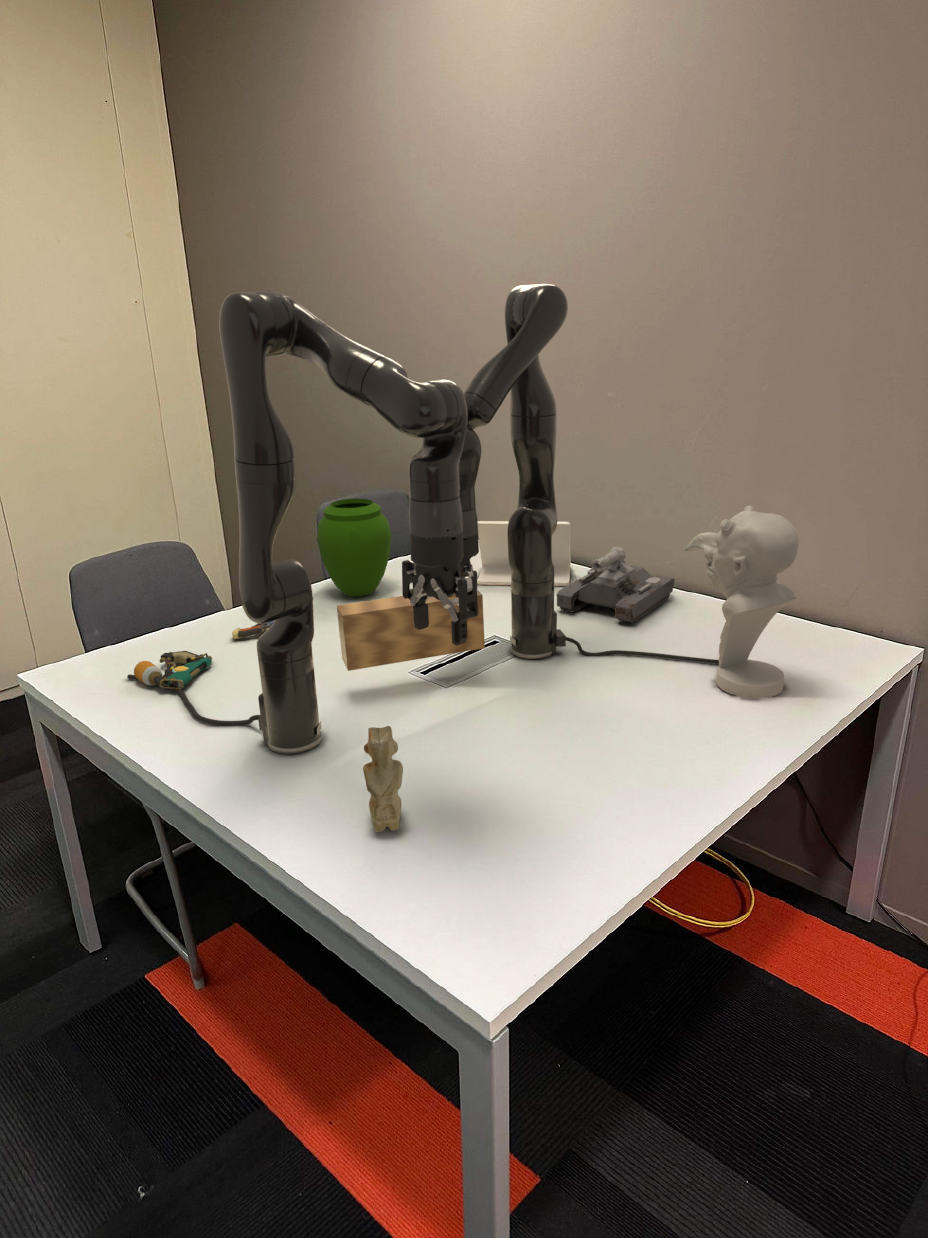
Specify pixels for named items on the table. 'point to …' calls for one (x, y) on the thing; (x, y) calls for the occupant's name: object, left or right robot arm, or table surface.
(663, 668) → the table surface
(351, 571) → the vase
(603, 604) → the toy
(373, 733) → the sculpture
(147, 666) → the spray gun
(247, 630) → the toy gun
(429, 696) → the table surface
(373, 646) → the box
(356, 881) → the table surface
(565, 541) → the tablet stand
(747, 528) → the bust sculpture
